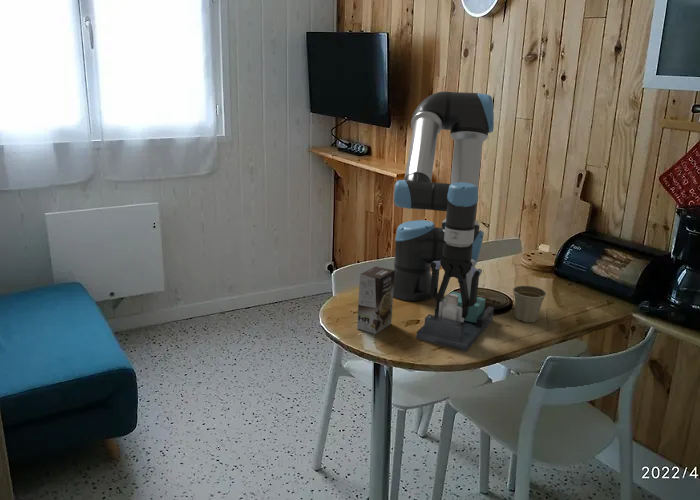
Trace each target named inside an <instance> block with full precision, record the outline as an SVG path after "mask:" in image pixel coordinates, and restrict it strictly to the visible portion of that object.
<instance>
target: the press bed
mask: <svg viewBox="0 0 700 500" xmlns="http://www.w3.org/2000/svg"><path fill="white" fill-rule="evenodd" d="M494 310H495V307H493V306H488V307H487V308H486V309H484V312H483V313H482V314H481V316H480V317H479V318H478V319H477V323H473V322H469V321H465V320H464V322H460V321H455V320H451V319H447V318H443V317H438V314H439V312H436V308H434V315H433V314H428V315H427V316H426V317H424V325H422V327H420V328H419V329H418V330H417V331H416V336H415V339H417V340H419V341H423V342H424V341H425V342H428V343H432V344H435V345H439V346H443V347H446V348H451V349H455V350H458V351H462V352H466V353H467V351H469V349H470V348H471V347H472V346H473V345H474V343H475V342H476V341H477V340H478V339H479V337H480V336H481V335H482V334H483V333H484V331H485V330H486V329H487V328H488V326H490V325H491V323H492V322H493V319H494Z"/></svg>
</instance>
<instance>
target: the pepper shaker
mask: <svg viewBox="0 0 700 500" xmlns="http://www.w3.org/2000/svg"><path fill="white" fill-rule="evenodd" d="M445 297H446V306H444V307H443V309H442V317H443V318H447V319H451V320H455V321H458V316H459V307H458V306H457V304H458V296H457V295H455V294H450V293H448V294H446V296H445Z"/></svg>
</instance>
